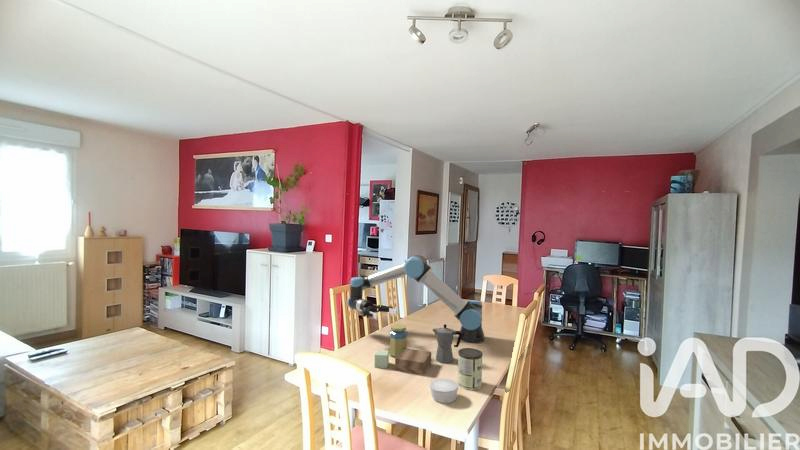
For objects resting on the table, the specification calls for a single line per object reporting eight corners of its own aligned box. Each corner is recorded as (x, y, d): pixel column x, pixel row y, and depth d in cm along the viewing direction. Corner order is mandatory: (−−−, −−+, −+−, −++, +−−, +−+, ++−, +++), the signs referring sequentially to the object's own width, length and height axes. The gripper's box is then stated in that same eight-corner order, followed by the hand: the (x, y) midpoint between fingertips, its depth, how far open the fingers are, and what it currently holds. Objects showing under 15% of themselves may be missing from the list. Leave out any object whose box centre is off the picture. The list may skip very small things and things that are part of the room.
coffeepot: (429, 361, 174) (429, 325, 173) (434, 354, 182) (435, 320, 182) (459, 366, 168) (460, 329, 168) (463, 359, 177) (464, 324, 177)
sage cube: (388, 362, 171) (388, 350, 171) (386, 368, 165) (387, 355, 165) (376, 362, 171) (376, 350, 171) (374, 367, 165) (374, 354, 165)
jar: (393, 359, 175) (393, 329, 175) (386, 352, 183) (387, 324, 183) (409, 356, 178) (410, 327, 178) (402, 350, 187) (403, 322, 187)
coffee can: (461, 377, 156) (461, 346, 156) (484, 382, 152) (484, 350, 152) (454, 387, 147) (455, 354, 147) (479, 392, 143) (479, 358, 142)
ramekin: (426, 401, 135) (426, 388, 135) (433, 388, 145) (434, 376, 145) (454, 407, 131) (454, 393, 131) (460, 394, 141) (460, 381, 141)
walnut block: (431, 364, 171) (431, 351, 171) (423, 375, 158) (424, 362, 158) (404, 359, 175) (404, 348, 175) (395, 371, 162) (395, 358, 162)
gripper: (381, 309, 213) (404, 317, 196) (346, 316, 197) (368, 325, 180) (382, 297, 212) (404, 304, 196) (347, 303, 196) (368, 311, 180)
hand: (387, 314), depth 188 cm, fingers open, 13 cm apart
